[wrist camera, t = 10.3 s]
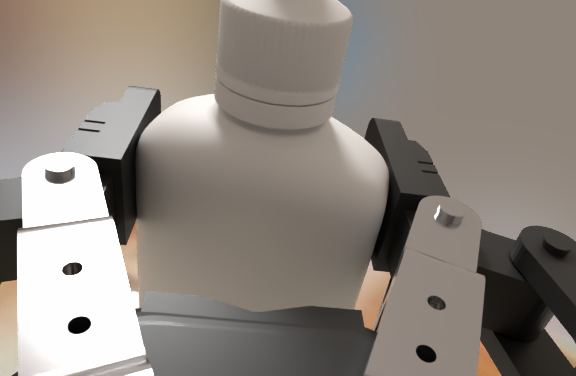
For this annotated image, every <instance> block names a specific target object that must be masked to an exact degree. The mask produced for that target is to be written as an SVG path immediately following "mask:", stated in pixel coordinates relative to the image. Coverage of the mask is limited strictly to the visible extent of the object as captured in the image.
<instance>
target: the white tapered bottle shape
mask: <svg viewBox="0 0 576 376" xmlns="http://www.w3.org/2000/svg"><path fill="white" fill-rule="evenodd" d="M220 3H221V4H220V17H219V32H218V47H217V48H218V49H217V63H216V78H215V94H210V95H204V96H197V97H192V98H189V99H186V100H182V101H180V102H177V103H176V104H174V105H172V106H170V107H169V108H167V109H166V110H164V111H163V112H162V113H161V114H159V115H158V116H157V117H156V118H155V119H154V120H153V121H152V122H151V123H150V124H149V125H148V126H147V127H146V128H145V130H144V131H143V133H142V134H141V137H140V139H139V142H138V145H137V147H136V157H135V168H136V206H137V219H136V236H137V263H138V287H139V308H142V305H143V302H144V299H145V295H146V292H147V291H153V292H164V293H175V294H186V295H197V296H203V297H207V298H210V299H213V300H217V301H220V302H223V303H226V304H230V305H233V306H236V307H240V308H243V309H246V310H250V311H254V312H263V311H271V310H280V309H288V308H296V307H304V306H319V307H330V308H341V309H352V310H354V307H355V304H356V301H357V298H358V295H359V292H360V289H361V286H362V283H363V280H364V277H365V274H366V271H367V268H368V265H369V262H370V259H371V256H372V253H373V250H374V246H375V243H376V240H377V237H378V234H379V230H380V227H381V224H382V220H383V216H384V212H385V207H386V203H387V198H388V192H389V170H388V167H387V165H386V163H385V161H384V159H383V157H382V156H381V154H380V153H379V152H378V151H377V150H376V149H375V148H374V147H373V146H372V145H371V144H370V143H368V142H367V141H366V140H365V139H364V138H362V137H361V136H359V135H358V134H357V133H355V132H354V131H353V130H351V129H350V128H348V127H347V126H345V125H344V124H342V123H341V122H339V121H337V120H336V119H334V118H332V117H331V116H332V114H333V109H334V105H335V100H336V96H337V91H338V87H339V83H340V78H341V74H342V69H343V65H344V60H345V55H346V51H347V46H348V43H349V38H350V34H351V29H352V25H353V16H352V14H351V13H350V11H349V10H348V8H346V7H345V6H344V5H342V4H341V3H340V2H339V1H337V0H221V2H220Z"/></svg>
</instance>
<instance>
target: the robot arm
mask: <svg viewBox="0 0 576 376" xmlns="http://www.w3.org/2000/svg"><path fill="white" fill-rule="evenodd" d="M159 114H161V95H160V91H159V90H158V89H151V88H143V87H136V86H129V87H128V89H127V90H126V92H125V93H124V95H123V96H122V98H121V100H120V101H119V102H118V103H116V102H108V101H107V102H105V103H103V104H102V105H100V106H98V107H96V108H94V109H92V110H91V112H90V113H89V115H88V116H87V117H86V119H85V122H83V123H82V124H81V125H80V127H79V130H77V131H76V132H75V133H74V135H73V136H72V138H71V139H70V140H69V142H68V143H67V144H66V146H65V147H64V148H63V150H62V151H61V152H60V153H54V154H48V155H44V156H41V157H39V158H36V159H34V160H33V161H31V162H30V163H28V164H27V165H26V166H25V167H24V169H23V171H22V177H21V178H15V179H3V180H0V284H1V282H5V281H12V280H17V282H18V372H16V373H15V374H13V375H12V376H477V369H478V358H479V347H480V340H481V342H482V344H483V345H484V347H485V349H486V350H487V352H488V353H489V355H490V357H491V358H492V360H493V362H494V363H495V365H496V367H497V368H498V370H499V372H500V373H501V375H502V376H576V367H575V368H573V366H572V365H571V364H570V362H569V361H568V360H567V358H566V357H565V356H564V354H563V353H562V352H561V350H560V349H559V348H558V346H557V345H556V344H555V342H554V341H553V340H552V338H551V337H550V336H549V334H548V333H547V332H546V330H545V329H544V328H545V327H546V325H547V324H548V322H549V321H550V319H551V318H552V317H553V315H555V316H556V318H557V319H558V320H559V321H560V323H561V324H562V325H563V326H564V328H565V329H566V330H567V331H568V333H569V334H570V335H571V337H572V338H573V339H574V341H575V343H576V242H575V241H574V240H573V239H571V238H570V237H568V236H567V235H565V234H563V233H561V232H559V231H556V230H553V229H551V228H547V227H542V226H529V227H526V228H524V229H523V230H522V231H521V233H520V234H519V236H518V238H517V240H513V239H510V238H506V237H503V236H500V235H497V234H494V233H491V232H488V231H485V230H483V229H481V228H482V222H481V219H480V217H479V216H478V214H477V213H476V212H475V211H474V210H473V209H472V208H470V207H469V206H467V205H466V204H464V203H462V202H460V201H458V200H455V199H452V198H450V196H449V194H448V192H447V190H446V188H445V186H444V184H443V182H442V180H441V178H440V176H439V174H437V173H438V172H437V169H436V168H435V165H433V162H432V159H431V157H430V155H429V154H428V152H427V151H426V150H425V149H424V148H423V147H422V146H421V145H419V144H418V143H417V142H416V141H411V140H408V139H407V136H406V135H405V132H404V130H403V128H402V125H401V123H400V122H399V121H392V120H384V119H377V118H372V119H371V120H370V122H369V125H368V128H367V131H366V135H365V140H366V141H367V142H368V143H370V144H371V145H372V146H373V147H374V148H375V149H376V150H377V151H378V152H379V153H380V154H381V156H382V157H383V159H384V161H385V163H386V165H387V167H388V170H389V192H388V198H387V203H386V207H385V212H384V216H383V220H382V224H381V227H380V230H379V234H378V237H377V240H376V243H375V246H374V250H373V253H372V256H371V261H372V265H373V269H374V270H375V271H385V272H390V276H391V278H390V280H389V283H388V286H387V288H386V291H385V294H384V297H383V300H382V303H381V306H380V308H379V311H378V314H377V317H376V320H375V323H374V326H373V329H372V330H371V329H368V328H365V327H364V322H363V317H362V311H361V310H352V309H341V308H330V307H319V306H304V307H296V308H288V309H280V310H271V311H263V312H254V311H250V310H246V309H243V308H240V307H236V306H233V305H230V304H226V303H223V302H220V301H217V300H213V299H210V298H207V297H203V296H197V295H186V294H175V293H164V292H153V291H147V292H146V295H145V299H144V302H143V305H142V308H134V304H133V300H132V296H131V292H130V287H129V283H128V279H127V275H126V271H125V267H124V263H123V258H122V254H121V250H120V246H119V244H120V245H126V244H127V242H128V239H129V237H130V234H131V231H132V229H133V226H134V224H135V221H136V219H137V206H136V168H135V157H136V147H137V145H138V142H139V139H140V137H141V134H142V133H143V131H144V130H145V128H146V127H147V126H148V125H149V124H150V123H151V122H152V121H153V120H154V119H155V118H156V117H157V116H158V115H159Z"/></svg>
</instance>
